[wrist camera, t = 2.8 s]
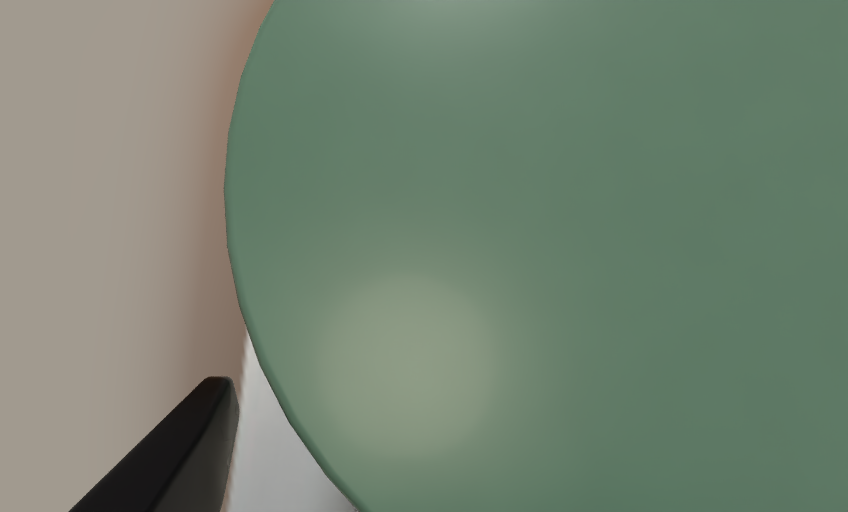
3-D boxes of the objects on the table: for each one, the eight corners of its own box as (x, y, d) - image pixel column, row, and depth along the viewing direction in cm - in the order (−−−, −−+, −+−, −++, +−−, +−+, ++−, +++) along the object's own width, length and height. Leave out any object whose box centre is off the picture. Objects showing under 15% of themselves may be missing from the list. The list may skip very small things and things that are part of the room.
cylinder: (513, 378, 19) (1236, 532, 3) (379, 406, 19) (294, 793, 2) (484, 248, 20) (903, -224, 4) (356, 271, 20) (172, -153, 3)
